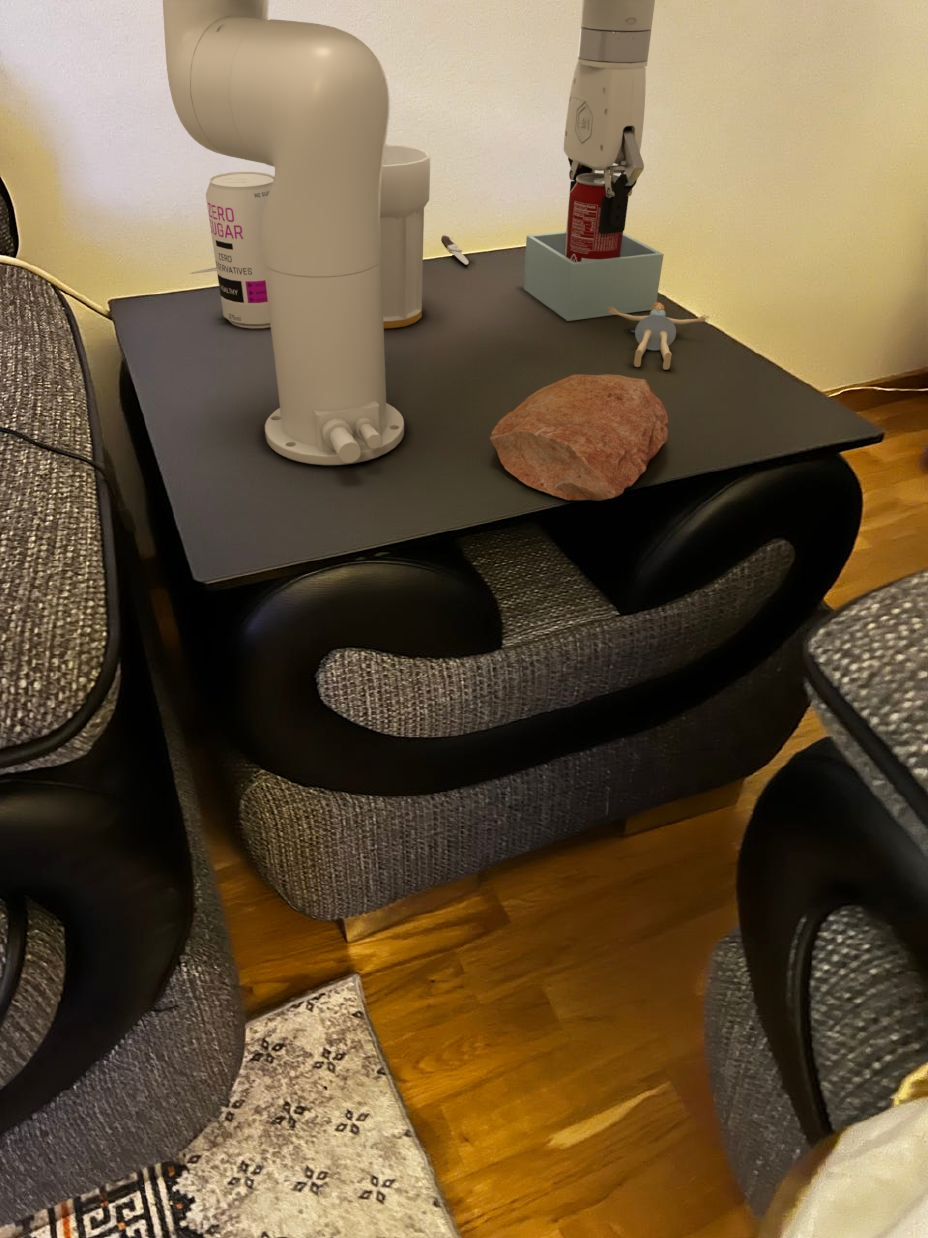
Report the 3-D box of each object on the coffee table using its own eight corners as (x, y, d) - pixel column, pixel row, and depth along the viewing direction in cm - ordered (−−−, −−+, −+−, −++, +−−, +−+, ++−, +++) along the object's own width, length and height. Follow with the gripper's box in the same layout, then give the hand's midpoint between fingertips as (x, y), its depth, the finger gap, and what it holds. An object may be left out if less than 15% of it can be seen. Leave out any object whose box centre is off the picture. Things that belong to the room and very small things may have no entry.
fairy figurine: (601, 332, 95) (610, 283, 103) (596, 374, 98) (605, 323, 106) (712, 342, 93) (712, 292, 102) (704, 384, 97) (704, 331, 105)
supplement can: (301, 307, 109) (289, 171, 100) (284, 332, 103) (269, 189, 93) (236, 303, 110) (217, 168, 100) (214, 328, 103) (192, 186, 94)
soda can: (615, 293, 109) (628, 186, 102) (559, 289, 110) (568, 182, 103) (617, 276, 114) (630, 173, 107) (564, 272, 115) (573, 169, 108)
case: (655, 309, 111) (663, 253, 107) (567, 321, 107) (572, 263, 103) (606, 279, 120) (612, 226, 116) (523, 289, 116) (526, 235, 112)
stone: (558, 411, 92) (464, 485, 77) (560, 353, 89) (462, 419, 74) (694, 432, 86) (621, 516, 71) (701, 371, 83) (626, 446, 68)
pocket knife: (449, 240, 133) (436, 238, 132) (451, 234, 132) (438, 232, 132) (472, 269, 123) (458, 267, 122) (473, 262, 122) (460, 260, 121)
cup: (329, 302, 111) (317, 144, 100) (419, 296, 113) (417, 141, 102) (344, 335, 102) (333, 167, 91) (441, 328, 105) (442, 163, 94)
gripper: (546, 39, 102) (535, 208, 113) (624, 59, 89) (603, 247, 100) (604, 38, 104) (587, 203, 115) (688, 57, 92) (661, 241, 103)
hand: (595, 222), depth 108 cm, fingers closed on soda can, 6 cm apart
